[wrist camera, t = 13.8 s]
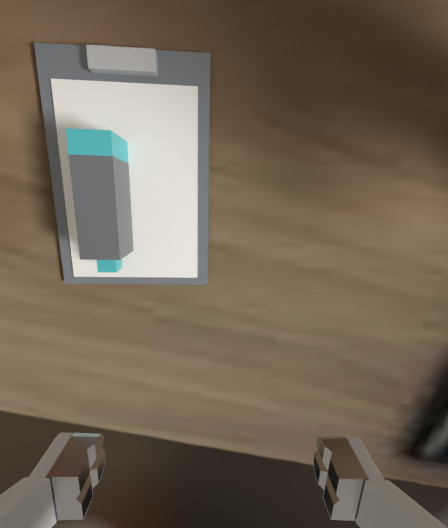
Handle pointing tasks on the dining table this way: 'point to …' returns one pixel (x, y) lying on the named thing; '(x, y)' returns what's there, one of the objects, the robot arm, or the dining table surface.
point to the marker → (101, 196)
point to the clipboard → (135, 152)
